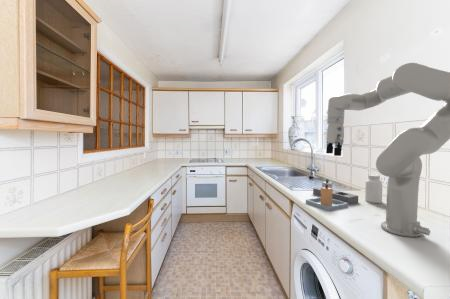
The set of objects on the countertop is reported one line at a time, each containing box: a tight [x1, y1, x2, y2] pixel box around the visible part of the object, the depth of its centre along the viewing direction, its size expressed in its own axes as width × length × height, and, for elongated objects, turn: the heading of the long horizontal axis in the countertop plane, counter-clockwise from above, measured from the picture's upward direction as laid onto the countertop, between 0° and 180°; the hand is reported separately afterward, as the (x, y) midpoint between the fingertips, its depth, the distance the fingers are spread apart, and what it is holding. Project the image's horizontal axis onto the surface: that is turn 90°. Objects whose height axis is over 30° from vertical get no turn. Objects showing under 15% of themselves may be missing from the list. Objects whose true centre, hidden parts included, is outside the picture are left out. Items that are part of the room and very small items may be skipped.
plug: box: [320, 184, 333, 206], centre depth 116 cm, size 4×4×11 cm
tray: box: [305, 196, 349, 212], centre depth 117 cm, size 15×15×3 cm
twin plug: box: [321, 178, 333, 189], centre depth 134 cm, size 4×4×11 cm
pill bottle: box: [364, 174, 383, 204], centre depth 124 cm, size 8×8×15 cm
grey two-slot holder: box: [312, 186, 359, 205], centre depth 129 cm, size 24×8×4 cm, turn 25°
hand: (333, 154), depth 112 cm, fingers open, 9 cm apart
